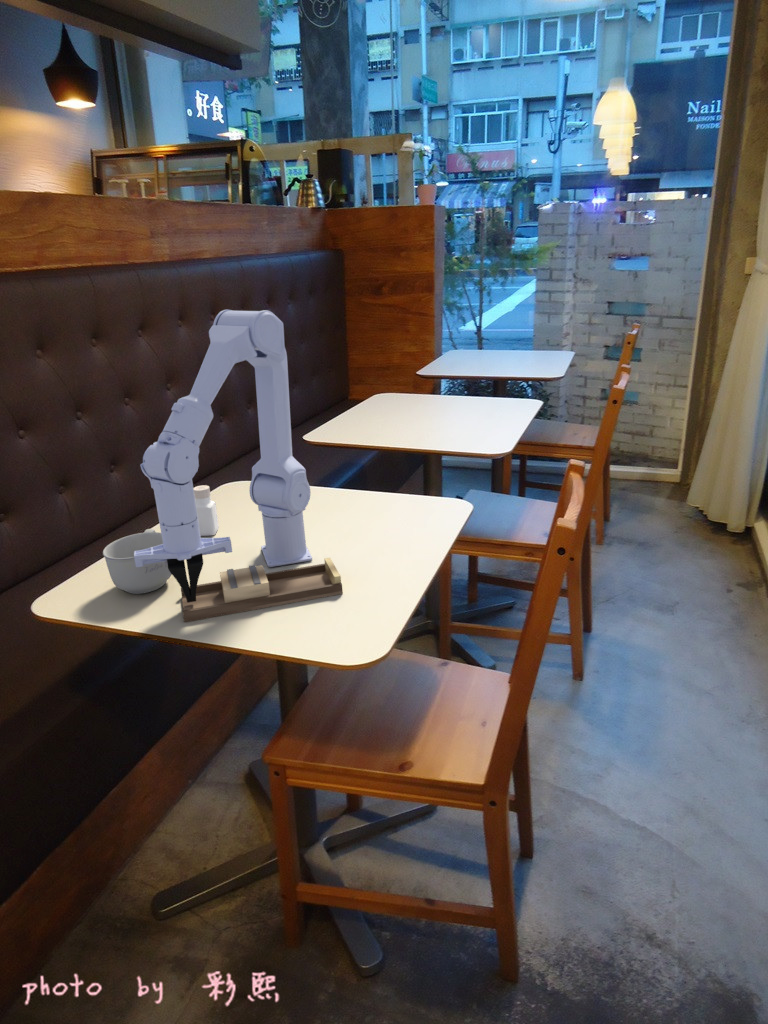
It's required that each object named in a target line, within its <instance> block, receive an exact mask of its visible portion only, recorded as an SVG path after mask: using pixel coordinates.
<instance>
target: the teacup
mask: <svg viewBox="0 0 768 1024" xmlns="http://www.w3.org/2000/svg"><path fill="white" fill-rule="evenodd" d="M162 544H163V541H162V535H161V531H159V532H157V531H156V530H155V529H153V528H147V529H145V530H144V532H139V533H134V534H130V535H127V536H124V537H121V538H119V539H116V540H114V541H112V542H110V543H109V544H107V545H106V546H105V547H104V549H103V551H102V555H103V557H104V559H105V562H106V566H107V570H108V573H109V576H110V578H111V579H110V580H111V582H112V583H113V584H114V586H115V587H116V588H118V589H120V590H122V591H125V592H127V593H129V594H132V595H133V594H134V595H141V594H147V593H150V592H153V591H155V590H158V589H161V588H162V587H163V586H164V585H165V584H166V583H167V581H168V580H169V579H170V578H171V577H172V576H173V575H172V574H171V573H170V571H169V569H168V564H167V561H163V562H156V563H150V564H144V565H143V566H142V567H136V564H135V559H134V551H139V550H144V549H148V548H151V547H155V546H158V545H162Z"/></svg>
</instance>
